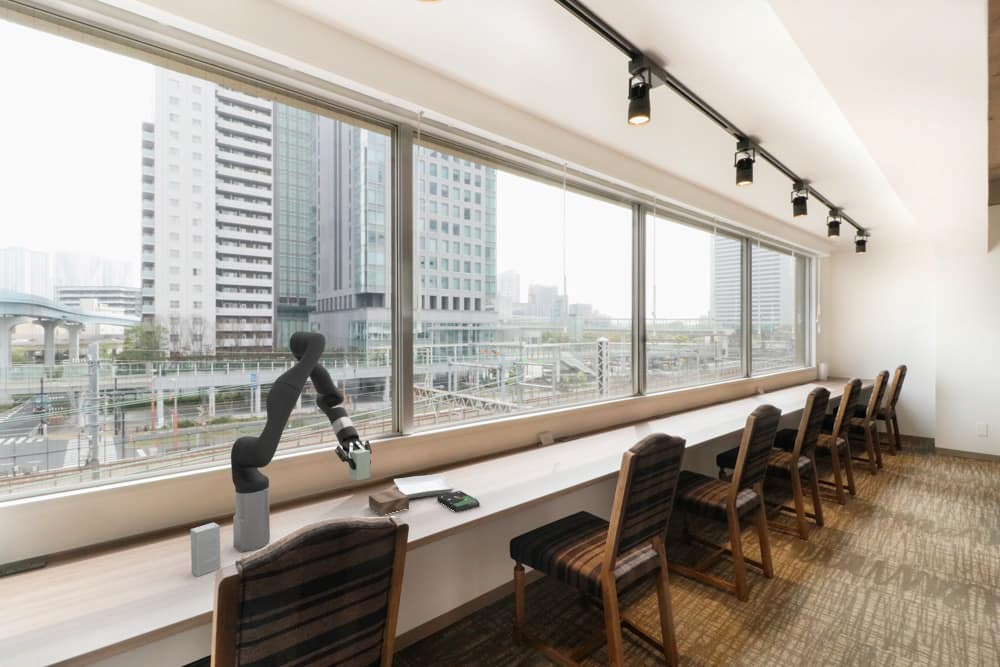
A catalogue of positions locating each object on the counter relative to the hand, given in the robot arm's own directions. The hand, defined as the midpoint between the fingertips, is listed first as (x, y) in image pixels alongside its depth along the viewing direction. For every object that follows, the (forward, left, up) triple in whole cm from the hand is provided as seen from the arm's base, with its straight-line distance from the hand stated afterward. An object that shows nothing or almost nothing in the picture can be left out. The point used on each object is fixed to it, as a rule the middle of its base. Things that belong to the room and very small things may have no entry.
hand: (362, 466), depth 177 cm
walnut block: (+5, -9, -15) cm, 19 cm away
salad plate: (+26, -3, -15) cm, 31 cm away
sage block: (0, +2, -4) cm, 5 cm away
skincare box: (-55, -9, -15) cm, 58 cm away
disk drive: (+25, -26, -16) cm, 39 cm away
